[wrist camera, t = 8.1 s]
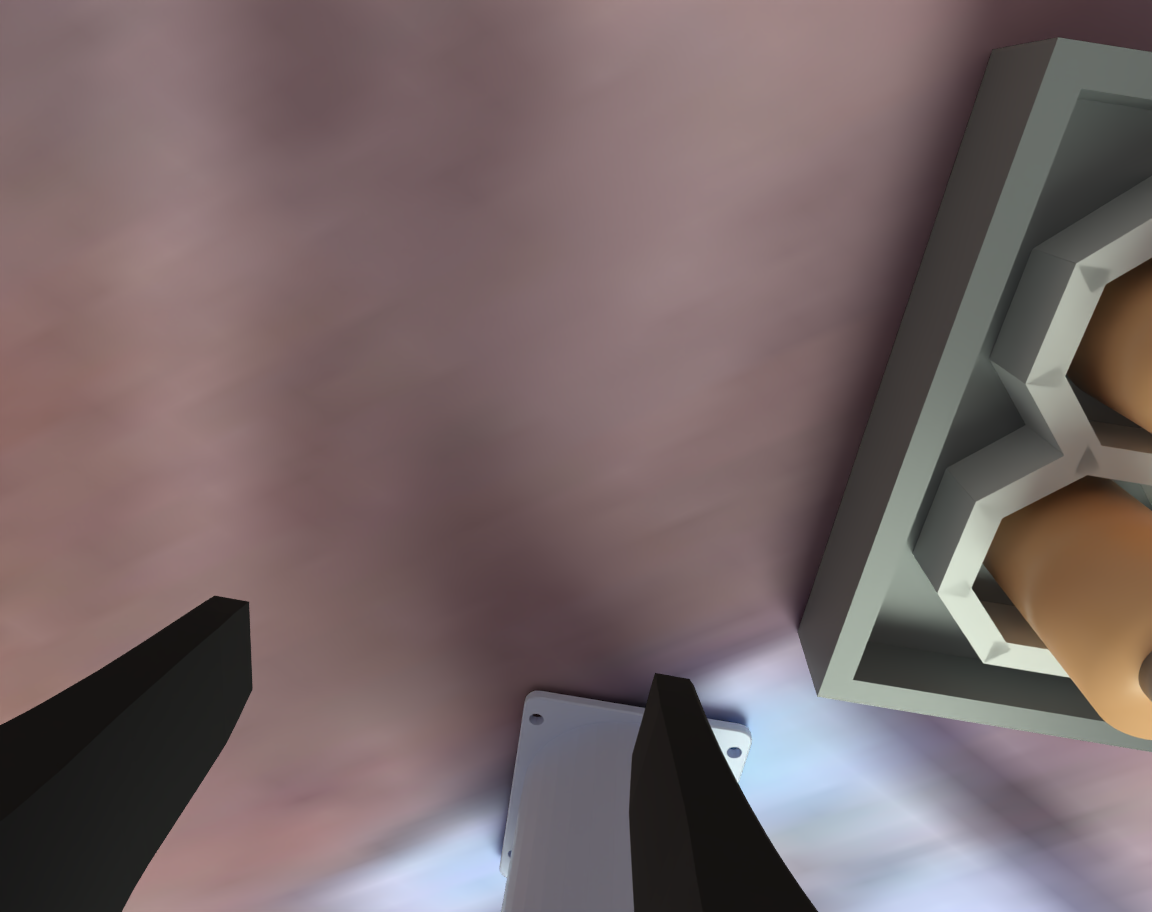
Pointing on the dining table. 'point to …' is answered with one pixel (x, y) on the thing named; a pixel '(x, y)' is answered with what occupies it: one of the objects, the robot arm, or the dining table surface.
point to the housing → (1000, 397)
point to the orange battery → (1087, 591)
